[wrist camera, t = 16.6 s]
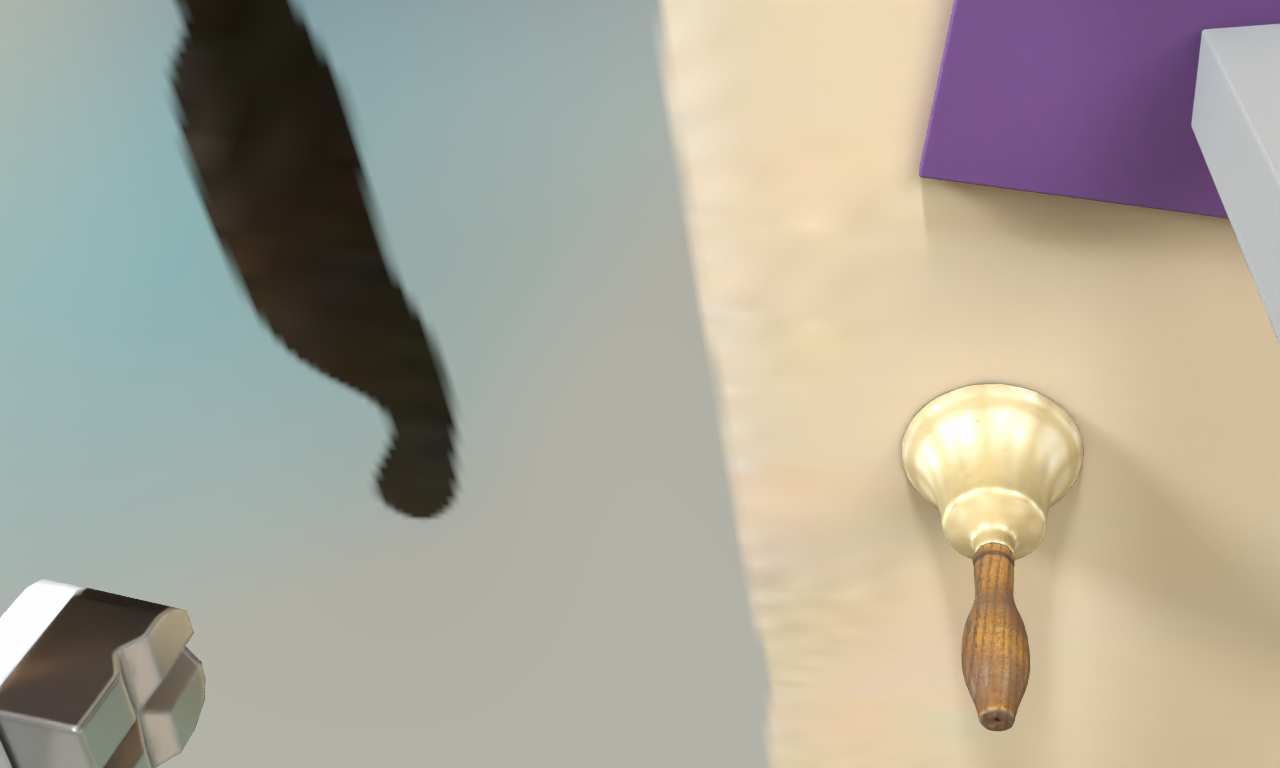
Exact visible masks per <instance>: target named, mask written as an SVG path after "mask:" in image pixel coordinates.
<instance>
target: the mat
mask: <svg viewBox="0 0 1280 768" xmlns="http://www.w3.org/2000/svg"><path fill="white" fill-rule="evenodd" d="M1269 24H1280V0H955V1H954V6H953V10H952V15H951V20H950V25H949V30H948V34H947V39H946V44H945V49H944V54H943V58H942V63H941V68H940V73H939V78H938V82H937V87H936V92H935V97H934V102H933V106H932V111H931V116H930V121H929V126H928V130H927V135H926V140H925V145H924V150H923V154H922V159H921V164H920V172H919V175H920V177H925V178H933V179H940V180H948V181H955V182H962V183H970V184H977V185H985V186H992V187H1000V188H1007V189H1014V190H1022V191H1029V192H1037V193H1044V194H1052V195H1059V196H1067V197H1074V198H1081V199H1089V200H1096V201H1104V202H1111V203H1119V204H1126V205H1133V206H1141V207H1148V208H1156V209H1163V210H1171V211H1178V212H1185V213H1193V214H1200V215H1208V216H1215V217H1223V218H1228V215H1227V213H1226V210H1225V208H1224V205H1223V203H1222V200H1221V198H1220V195H1219V193H1218V190H1217V188H1216V186H1215V183H1214V181H1213V178H1212V176H1211V173H1210V171H1209V168H1208V166H1207V163H1206V161H1205V158H1204V156H1203V153H1202V151H1201V148H1200V146H1199V144H1198V141H1197V139H1196V136H1195V134H1194V131H1193V129H1192V126H1191V123H1192V114H1193V105H1194V97H1195V88H1196V79H1197V71H1198V62H1199V53H1200V44H1201V36H1202V31H1203V30H1204V29H1216V28H1229V27H1243V26H1256V25H1269Z"/></svg>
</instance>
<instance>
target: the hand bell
mask: <svg viewBox="0 0 1280 768" xmlns="http://www.w3.org/2000/svg"><path fill="white" fill-rule="evenodd" d="M902 461H903V466H904V469H905V472H906V474H907V476H908V478H909V480H910V482H911V483H912V485H913V486H914V487H915V489H916V490H917V491H918V492H919V493H920V495H921V496H922V497H923V498H924V499H926V500H927V501H928V502H929V503H930V504H932V505H933V506H935V507H936V508H937V509H939V512H940V516H941V523H942V529H943V532H944V535H945V537H946V539H947V540H948V542H949V543H950V544H951V546H952V547H953V548H954V549H956V550H957V551H958V552H959V553H961V554H962V555H964V556H966V557H968V558H970V559H973V565H974V578H975V600H974V604H973V607H972V609H971V611H970V614H969V616H968V618H967V621H966V624H965V628H964V633H963V638H962V654H961V655H962V669H963V675H964V679H965V682H966V685H967V687H968V690H969V692H970V695H971V697H972V700H973V702H974V704H975V706H976V709H977V712H978V717H979V721H980V723H981V724H982V725H983V726H984V727H985V728H986V729H988V730H991V731H1004V730H1008V729H1010V728H1011V727H1012V726H1013V723H1014V721H1015V716H1016V713H1017V710H1018V707H1019V705H1020V702H1021V700H1022V697H1023V695H1024V693H1025V690H1026V687H1027V684H1028V679H1029V672H1030V652H1029V645H1028V638H1027V634H1026V630H1025V626H1024V623H1023V621H1022V618H1021V616H1020V614H1019V612H1018V610H1017V608H1016V605H1015V602H1014V597H1013V584H1014V561H1015V560H1017V559H1020V558H1022V557H1024V556H1026V555H1028V554H1029V553H1031V552H1032V551H1033V550H1034V549H1035V548H1036V547H1037V546H1038V545H1039V544H1040V542H1041V541H1042V539H1043V537H1044V534H1045V530H1046V523H1047V513H1048V508H1050V507H1051V506H1053V505H1054V504H1055V503H1057V502H1058V501H1059V500H1060V499H1061V498H1062V497H1063V496H1064V495H1065V494H1066V493H1067V492H1068V491H1069V489H1070V488H1071V486H1072V485H1073V484H1074V482H1075V480H1076V479H1077V477H1078V475H1079V472H1080V470H1081V467H1082V462H1083V444H1082V439H1081V435H1080V433H1079V430H1078V428H1077V426H1076V424H1075V423H1074V422H1073V420H1072V418H1071V417H1070V416H1069V415H1068V414H1067V412H1066V411H1065V410H1063V409H1062V408H1061V407H1060V406H1059V405H1057V404H1056V403H1054V402H1053V401H1051V400H1050V399H1048V398H1046V397H1044V396H1043V395H1041V394H1039V393H1037V392H1034V391H1032V390H1028V389H1025V388H1021V387H1017V386H1011V385H1004V384H982V385H972V386H967V387H963V388H960V389H956V390H953V391H951V392H948V393H946V394H944V395H942V396H940V397H938V398H936V399H934V400H933V401H931V402H930V403H929V404H928V405H926V406H925V407H924V408H923V409H922V410H921V411H920V412H918V414H917V415H916V416H915V417H914V418H913V419H912V421H911V423H910V424H909V426H908V428H907V430H906V432H905V435H904V438H903V442H902Z"/></svg>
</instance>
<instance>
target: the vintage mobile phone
mask: <svg viewBox="0 0 1280 768" xmlns="http://www.w3.org/2000/svg"><path fill="white" fill-rule="evenodd" d="M1191 126H1192V129H1193V131H1194V134H1195V136H1196V139H1197V141H1198V144H1199V146H1200V148H1201V151H1202V153H1203V156H1204V158H1205V161H1206V163H1207V166H1208V168H1209V171H1210V173H1211V176H1212V178H1213V181H1214V183H1215V186H1216V188H1217V190H1218V193H1219V195H1220V198H1221V200H1222V203H1223V205H1224V208H1225V210H1226V213H1227V215H1228V218H1229V220H1230V223H1231V225H1232V228H1233V230H1234V232H1235V235H1236V237H1237V240H1238V242H1239V245H1240V247H1241V250H1242V252H1243V255H1244V257H1245V260H1246V262H1247V265H1248V267H1249V270H1250V272H1251V274H1252V277H1253V279H1254V282H1255V284H1256V287H1257V289H1258V292H1259V294H1260V297H1261V299H1262V302H1263V304H1264V307H1265V309H1266V312H1267V314H1268V316H1269V319H1270V321H1271V324H1272V326H1273V329H1274V331H1275V334H1276V336H1277V339H1278V341H1279V344H1280V24H1269V25H1256V26H1243V27H1229V28H1216V29H1204V30H1203V31H1202V36H1201V44H1200V53H1199V62H1198V71H1197V79H1196V88H1195V97H1194V105H1193V114H1192V123H1191Z"/></svg>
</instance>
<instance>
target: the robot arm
mask: <svg viewBox="0 0 1280 768" xmlns="http://www.w3.org/2000/svg"><path fill="white" fill-rule="evenodd" d="M193 633H194V631H193V628H192V625H191V622H190V619H189V616H188V612H187V610H183V609H178V608H174V607H170V606H165V605H161V604H156V603H152V602H147V601H143V600H138V599H134V598H130V597H125V596H121V595H116V594H111V593H107V592H103V591H99V590H94V589H91V588H86V587H81V586H76V585H71V584H67V583H62V582H57V581H52V580H47V579H42V580H40V581H38V582H36V583H35V584H33V585H31V586H29V587H27V588H26V589H25V590H24V591H23V592H22V593H21V594H20V596H19V597H18V598H17V599H16V600H15V601H14V602H13V604H12V605H11V606H10V607H9V608H8V609H7V610H6V611H5V613H4V614H3V615H2V616H1V617H0V768H156V767H158V766H159V765H161V764H163V763H164V762H166V761H168V760H169V759H171V758H172V757H174V756H176V755H178V754H179V753H181V751H182V750H183V748H184V747H185V745H186V743H187V741H188V740H189V738H190V736H191V735H192V733H193V731H194V730H195V728H196V725H197V722H198V719H199V715H200V712H201V709H202V706H203V703H204V699H205V675H204V671H203V666H202V662H201V661H200V660H199V659H198V658H197V657H196V656H195V655H194V654H193V653H191V651H190V650H189V649H188V648H187V647H186V644H187V643H188V641H189V639H190V638H191V636H192V635H193Z"/></svg>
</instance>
